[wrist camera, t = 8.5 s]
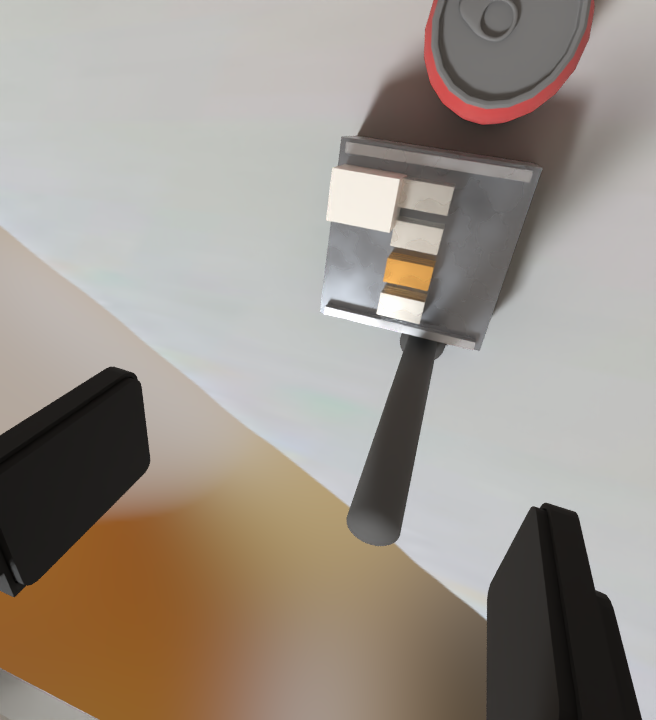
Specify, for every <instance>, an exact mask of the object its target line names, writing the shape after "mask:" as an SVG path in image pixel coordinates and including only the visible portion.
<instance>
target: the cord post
mask: <svg viewBox="0 0 656 720" xmlns="http://www.w3.org/2000/svg"><path fill="white" fill-rule="evenodd" d="M400 345H401V348H402V351H403V354H402V357H401V360H400V363H399V366H398V369H397V372H396V375H395V378H394V381H393V384H392V387H391V390H390V392H389V395H388V398H387V401H386V404H385V407H384V410H383V413H382V416H381V419H380V422H379V425H378V428H377V431H376V433H375V436H374V439H373V442H372V445H371V448H370V451H369V454H368V457H367V460H366V463H365V466H364V469H363V471H362V474H361V477H360V480H359V483H358V486H357V489H356V492H355V495H354V498H353V501H352V504H351V507H350V510H349V513H348V515H347V525H348V528H349V529H350V531H351V532H352V533H353V534H354V536H356V537H357V538H358V539H360V540H361V541H363V542H365V543H368V544H371V545H375V546H386V545H390V544H392V543H394V542H396V541H397V540H398V538H399V536H400V532H401V527H402V522H403V517H404V512H405V507H406V501H407V496H408V491H409V486H410V481H411V476H412V471H413V466H414V461H415V456H416V451H417V445H418V440H419V435H420V430H421V425H422V420H423V415H424V410H425V405H426V400H427V395H428V390H429V384H430V379H431V374H432V369H433V364H434V360H435V359H437V358H438V357H439V356H440V355H441V354H442V352H443V351H444V348H445V343H441V342H437V341H433V340H429V339H425V338H421V337H417V336H413V335H409V334H404V333H402V335H401V338H400Z"/></svg>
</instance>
